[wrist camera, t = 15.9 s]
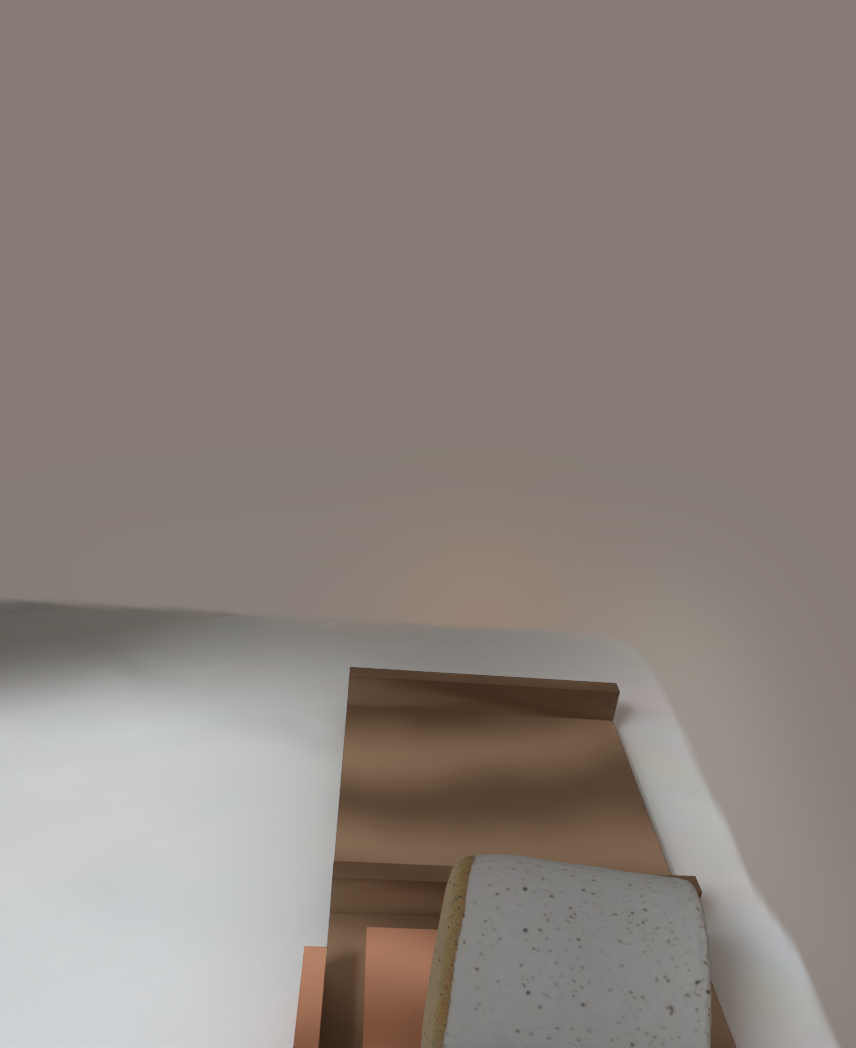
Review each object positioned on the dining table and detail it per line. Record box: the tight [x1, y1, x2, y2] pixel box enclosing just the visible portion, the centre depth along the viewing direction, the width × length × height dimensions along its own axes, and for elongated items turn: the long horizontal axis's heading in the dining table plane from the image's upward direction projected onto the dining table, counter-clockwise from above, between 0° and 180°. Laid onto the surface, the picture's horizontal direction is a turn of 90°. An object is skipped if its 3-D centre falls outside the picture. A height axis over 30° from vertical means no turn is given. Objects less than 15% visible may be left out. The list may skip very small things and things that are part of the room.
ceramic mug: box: [421, 854, 711, 1048], centre depth 24 cm, size 11×8×8 cm
